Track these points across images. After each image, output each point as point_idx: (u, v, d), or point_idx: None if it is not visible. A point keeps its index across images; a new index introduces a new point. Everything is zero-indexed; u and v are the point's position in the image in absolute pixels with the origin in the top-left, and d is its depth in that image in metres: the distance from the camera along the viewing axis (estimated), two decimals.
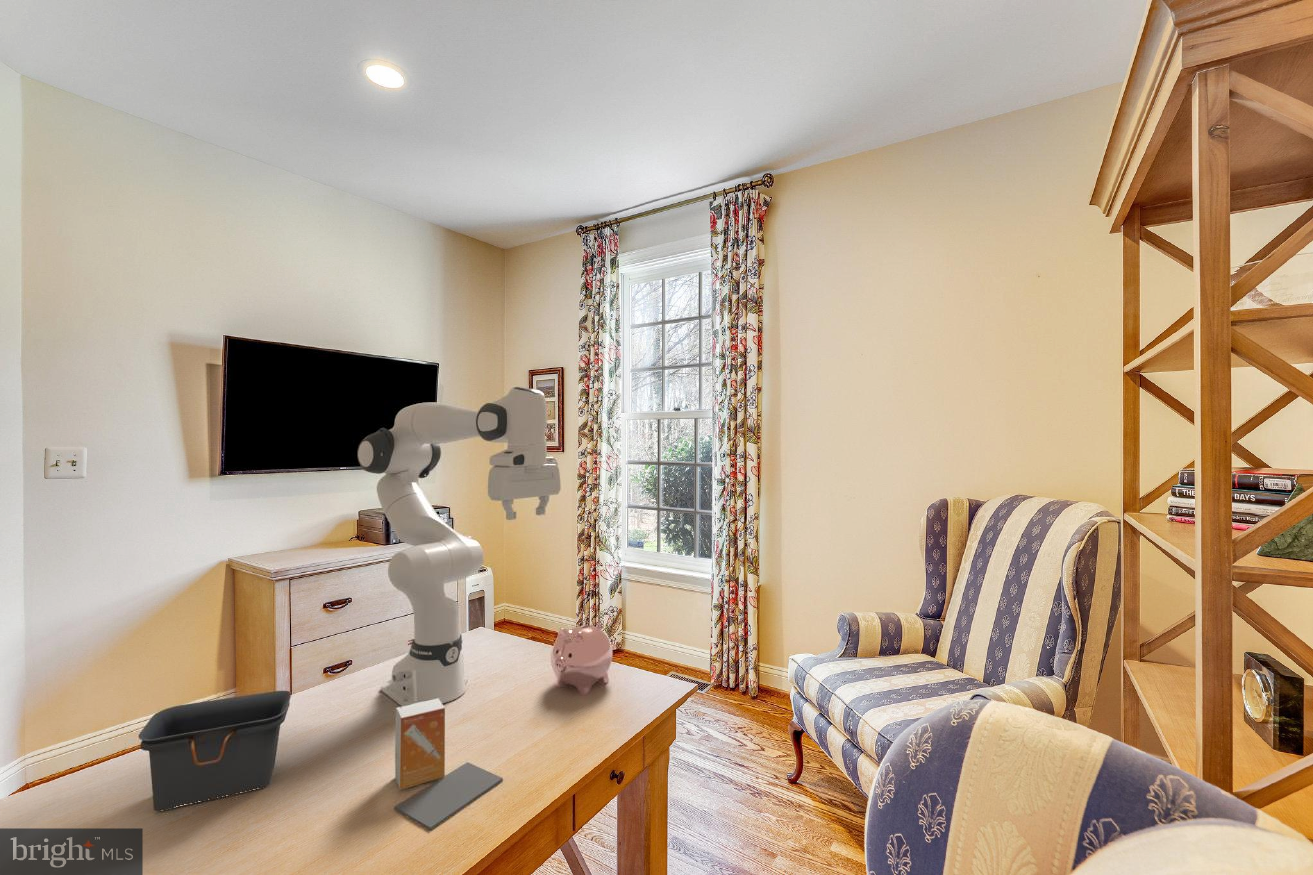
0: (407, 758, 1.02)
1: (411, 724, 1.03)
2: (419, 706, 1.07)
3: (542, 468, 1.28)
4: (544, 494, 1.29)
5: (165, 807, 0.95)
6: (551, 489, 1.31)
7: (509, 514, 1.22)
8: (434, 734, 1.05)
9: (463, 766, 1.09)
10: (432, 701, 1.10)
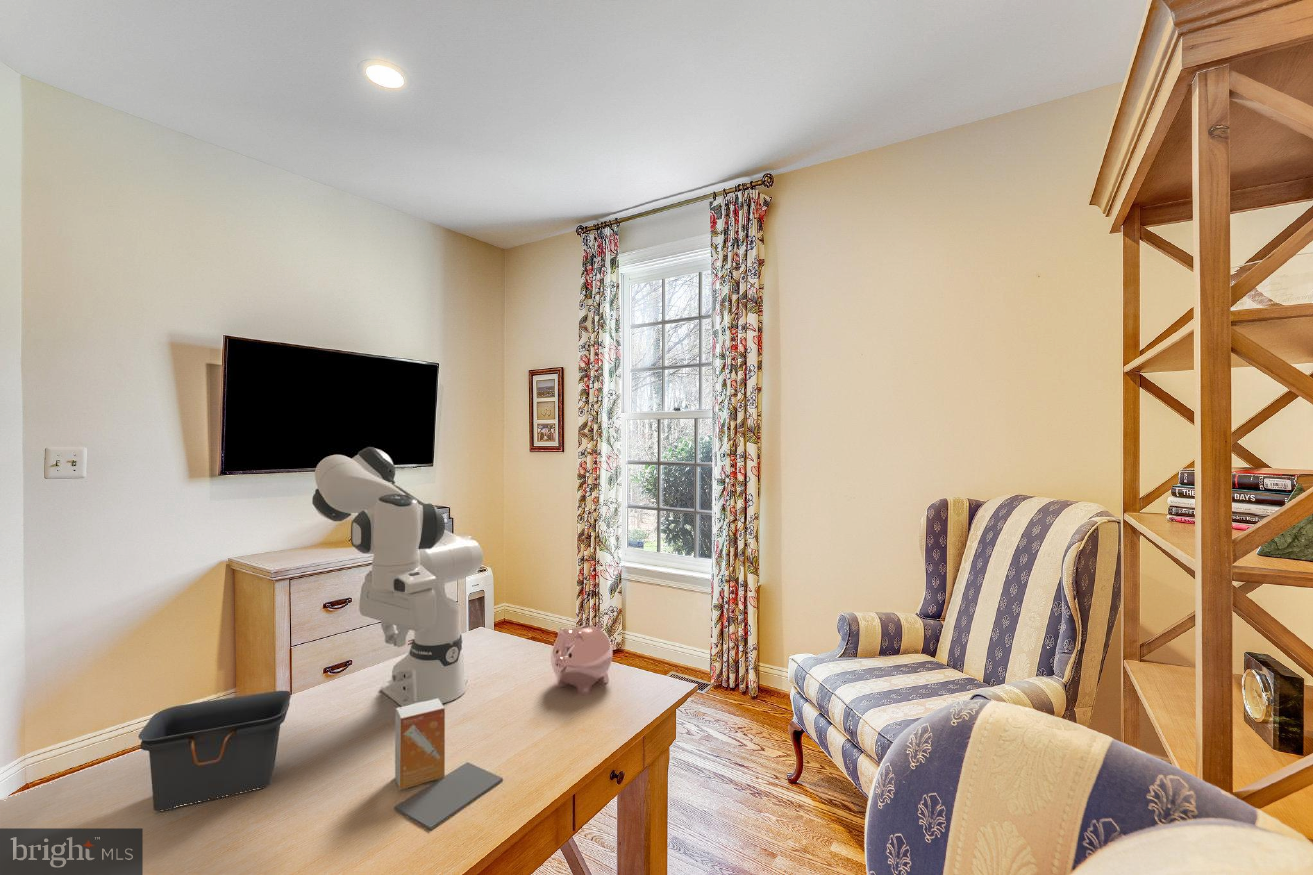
0: (407, 758, 1.02)
1: (411, 724, 1.03)
2: (418, 706, 1.07)
3: None
4: None
5: (165, 807, 0.95)
6: None
7: (402, 640, 1.10)
8: (434, 734, 1.05)
9: (463, 766, 1.09)
10: (431, 701, 1.10)
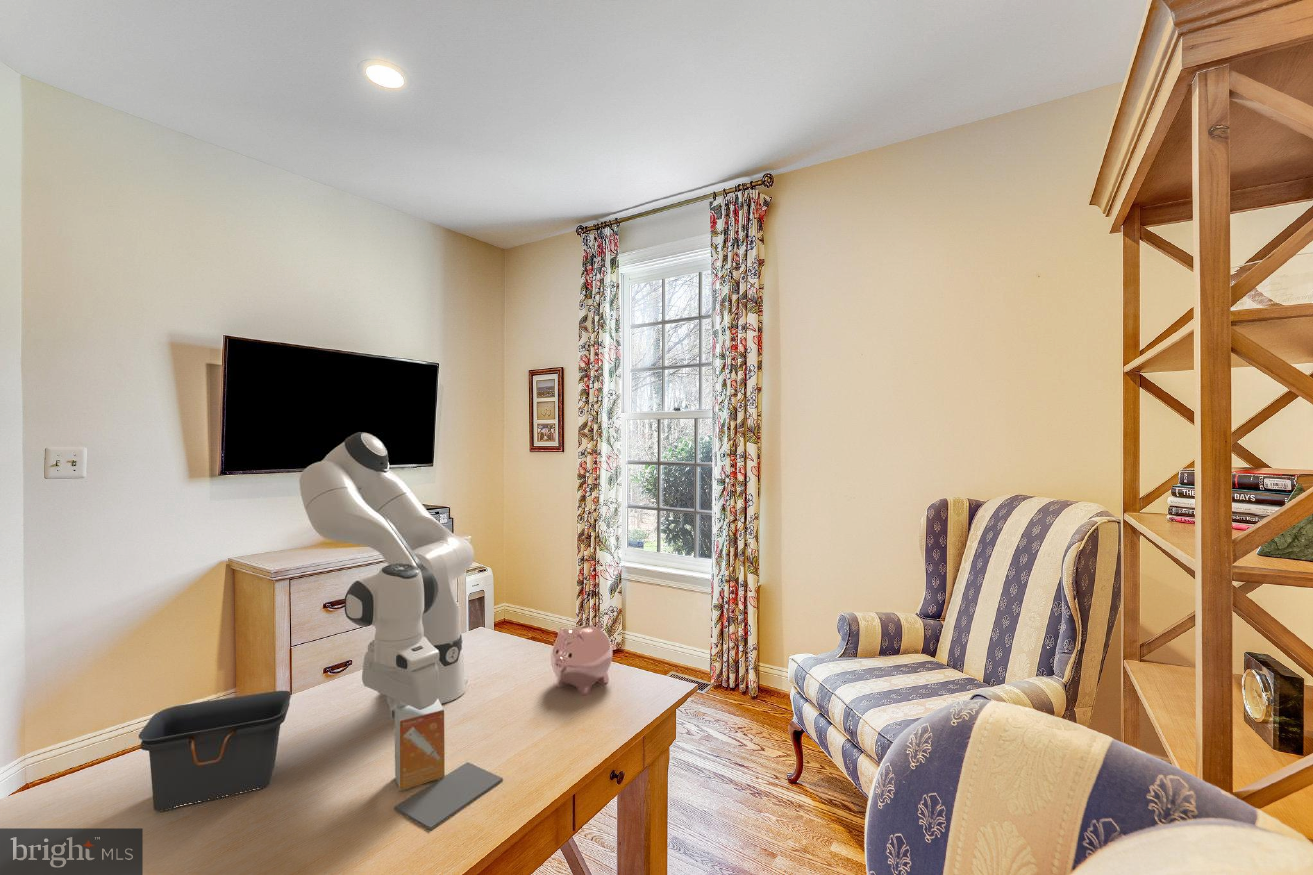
0: (407, 760, 1.02)
1: (410, 726, 1.02)
2: None
3: None
4: None
5: (165, 807, 0.95)
6: None
7: None
8: (433, 736, 1.05)
9: (463, 766, 1.09)
10: None
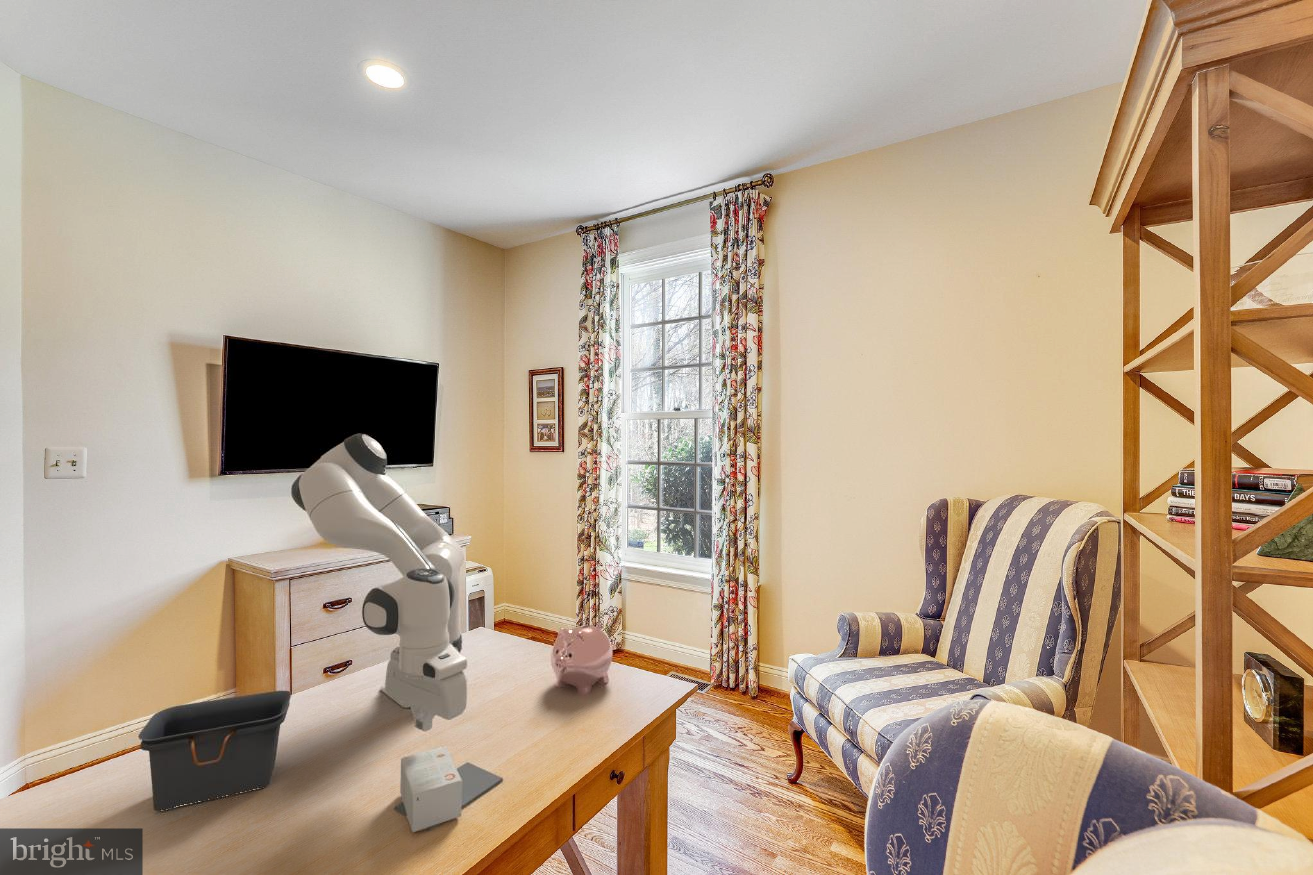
0: None
1: None
2: (436, 804, 0.92)
3: None
4: None
5: (165, 807, 0.95)
6: None
7: (429, 723, 1.04)
8: None
9: (463, 766, 1.09)
10: (453, 790, 0.94)
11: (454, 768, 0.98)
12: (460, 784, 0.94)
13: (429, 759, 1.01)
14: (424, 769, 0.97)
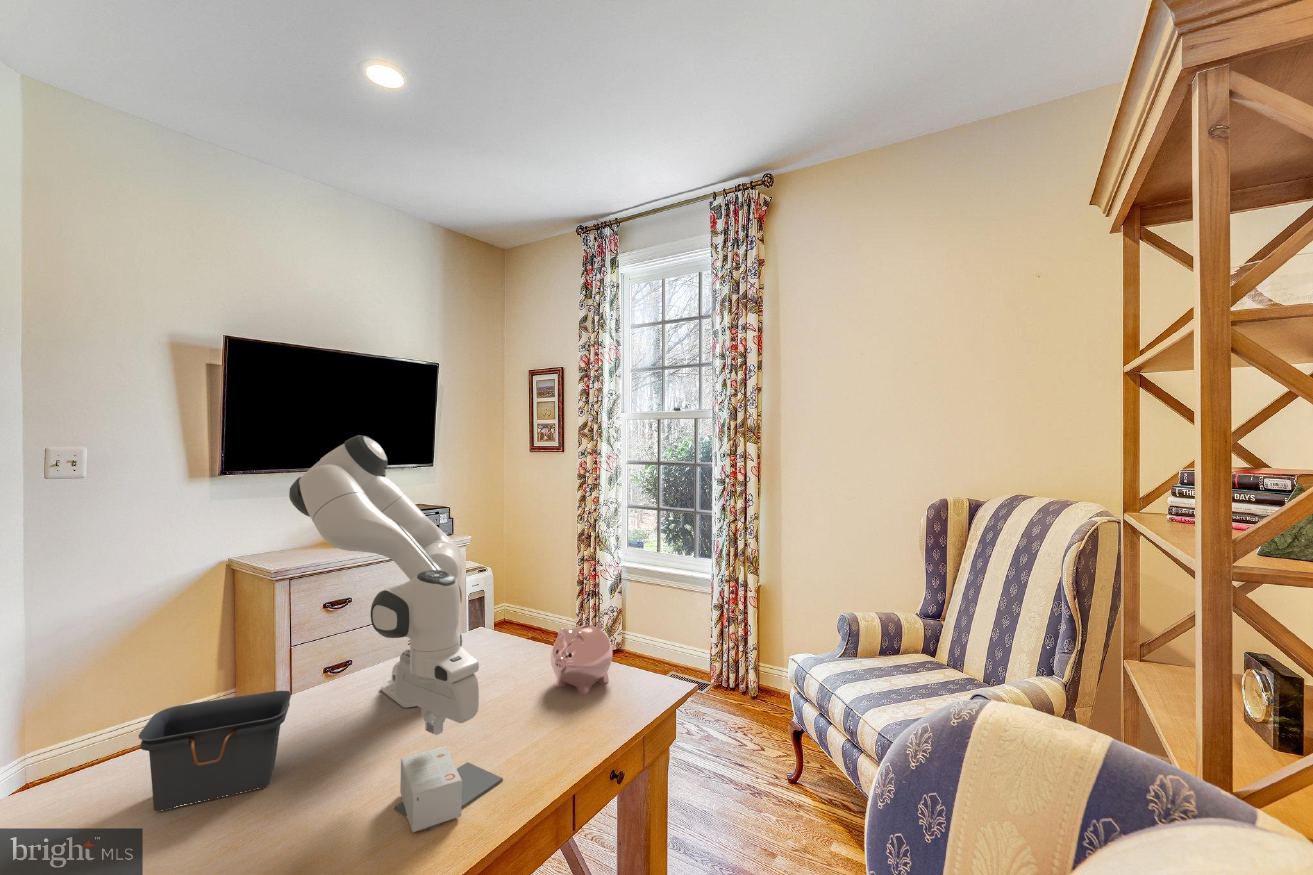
0: None
1: None
2: (436, 804, 0.92)
3: None
4: None
5: (165, 807, 0.95)
6: None
7: (440, 726, 1.03)
8: None
9: (463, 766, 1.09)
10: (453, 790, 0.94)
11: (454, 768, 0.98)
12: (460, 784, 0.94)
13: (429, 759, 1.01)
14: (424, 769, 0.97)
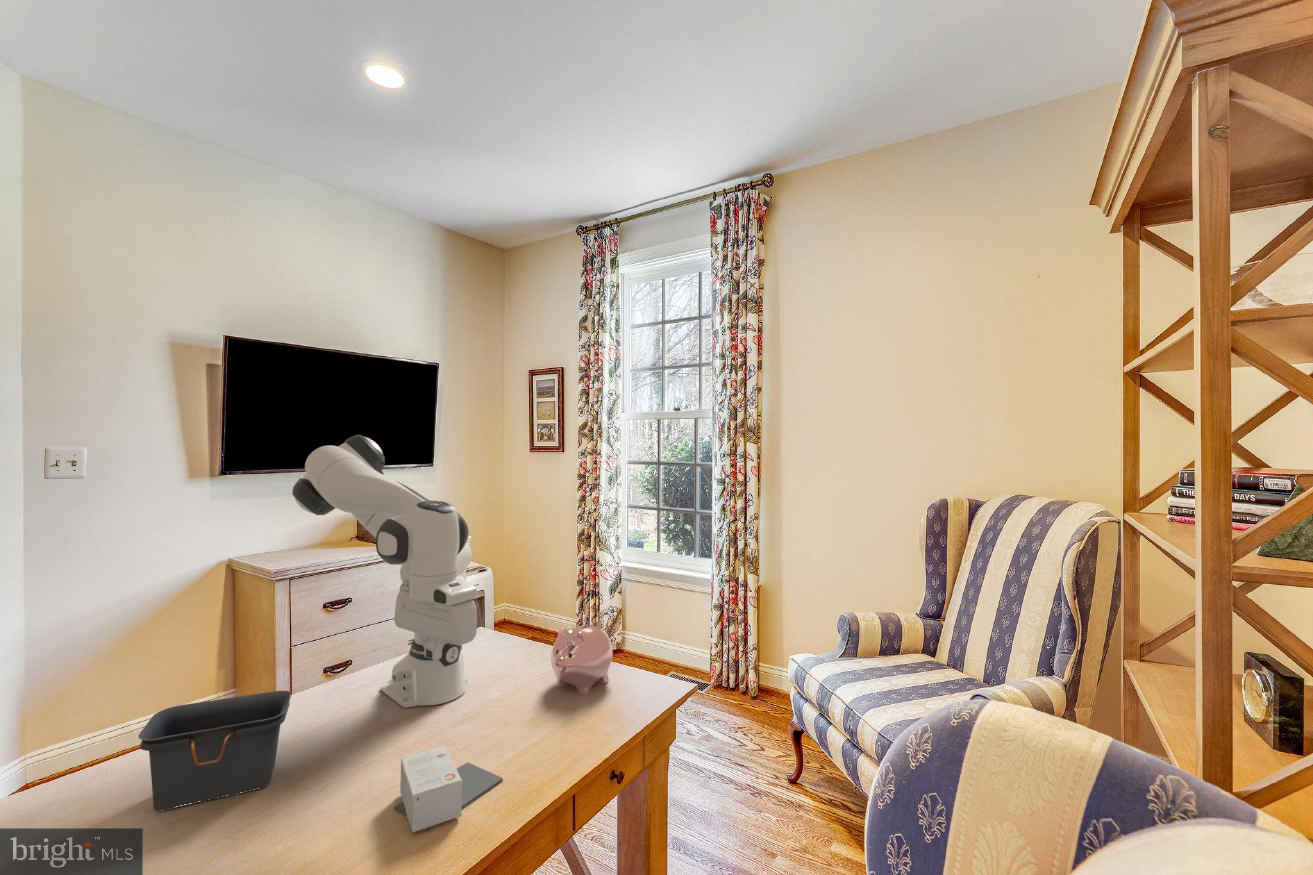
0: None
1: None
2: (436, 804, 0.92)
3: None
4: None
5: (165, 807, 0.95)
6: None
7: (438, 652, 1.05)
8: None
9: (463, 766, 1.09)
10: (453, 790, 0.94)
11: (454, 768, 0.98)
12: (460, 784, 0.94)
13: (429, 759, 1.01)
14: (424, 769, 0.97)
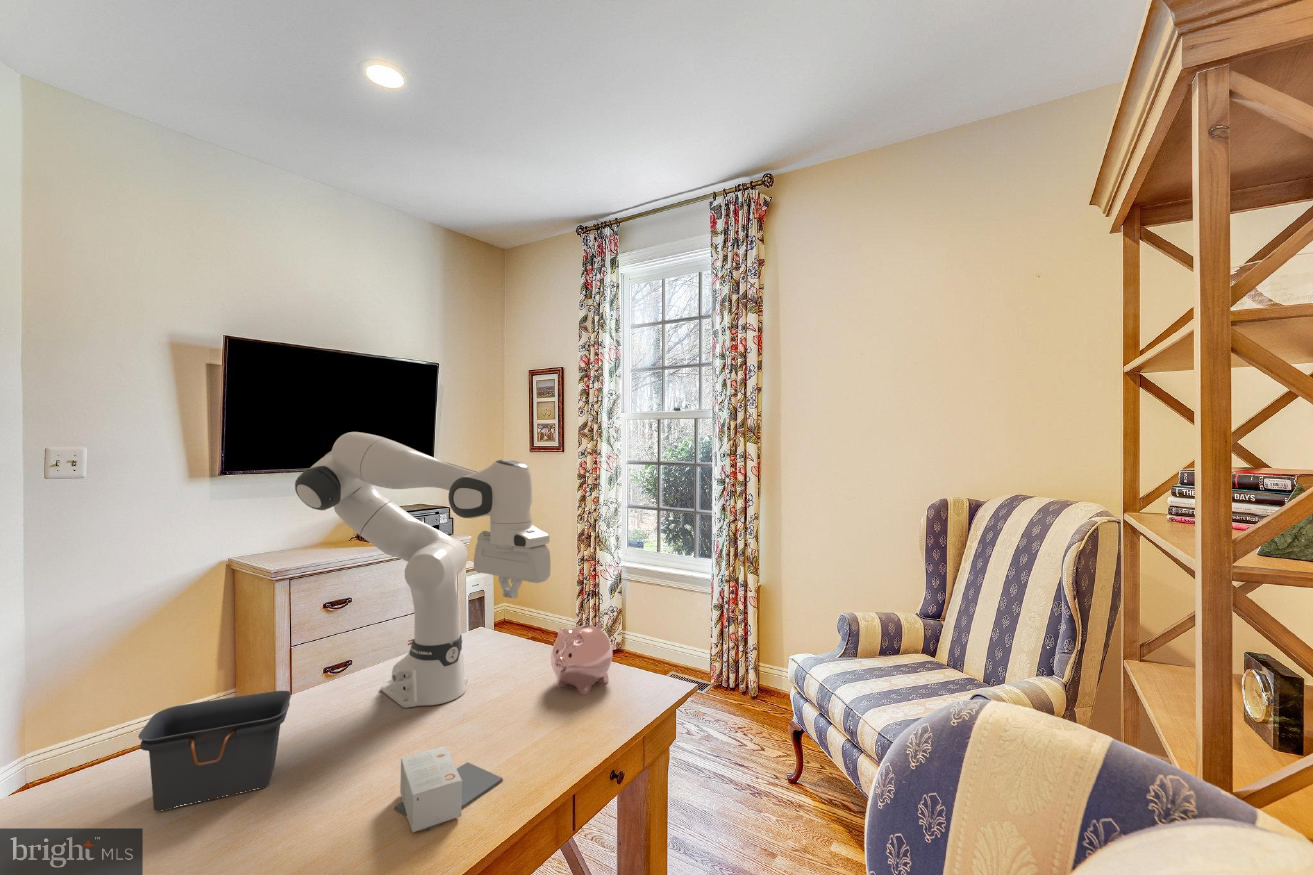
0: None
1: None
2: (436, 804, 0.92)
3: None
4: None
5: (165, 807, 0.95)
6: None
7: (515, 592, 1.20)
8: None
9: (463, 766, 1.09)
10: (453, 790, 0.94)
11: (454, 768, 0.98)
12: (460, 784, 0.94)
13: (429, 759, 1.01)
14: (424, 769, 0.97)
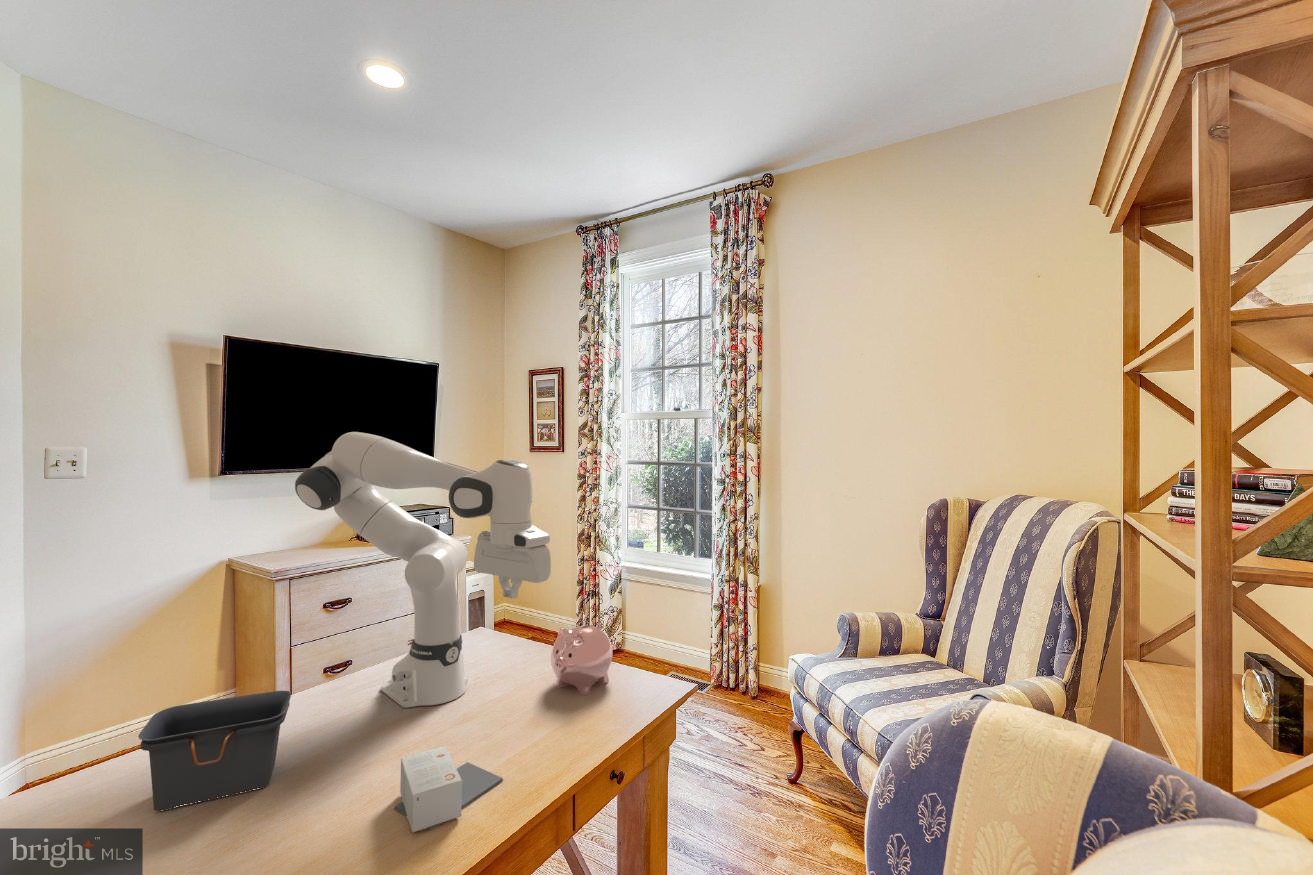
0: None
1: None
2: (436, 804, 0.92)
3: None
4: None
5: (165, 807, 0.95)
6: None
7: (515, 592, 1.20)
8: None
9: (463, 766, 1.09)
10: (453, 790, 0.94)
11: (454, 768, 0.98)
12: (460, 784, 0.94)
13: (429, 759, 1.01)
14: (424, 769, 0.97)
